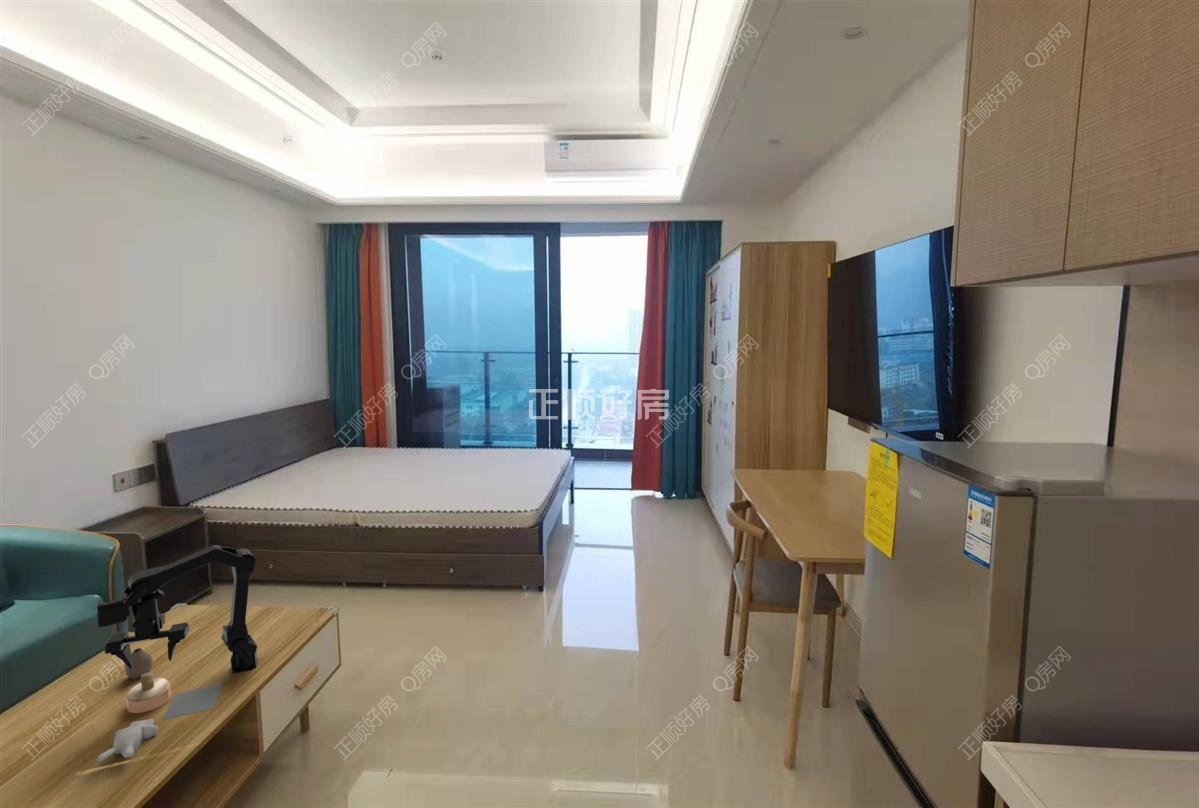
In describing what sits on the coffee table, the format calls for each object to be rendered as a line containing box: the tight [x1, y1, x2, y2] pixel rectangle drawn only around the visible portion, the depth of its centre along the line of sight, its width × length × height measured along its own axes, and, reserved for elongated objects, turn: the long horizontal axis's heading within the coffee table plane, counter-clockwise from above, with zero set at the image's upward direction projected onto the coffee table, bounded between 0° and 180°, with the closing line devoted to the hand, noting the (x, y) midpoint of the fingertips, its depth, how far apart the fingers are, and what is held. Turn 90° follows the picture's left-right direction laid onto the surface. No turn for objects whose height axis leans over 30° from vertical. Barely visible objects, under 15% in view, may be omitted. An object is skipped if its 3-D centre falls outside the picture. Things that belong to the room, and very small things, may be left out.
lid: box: [127, 671, 168, 701], centre depth 162 cm, size 9×9×5 cm
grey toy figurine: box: [95, 718, 159, 763], centre depth 146 cm, size 10×5×15 cm
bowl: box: [125, 679, 173, 714], centre depth 163 cm, size 10×10×4 cm
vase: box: [124, 647, 154, 680], centre depth 175 cm, size 7×7×9 cm
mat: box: [162, 683, 223, 721], centre depth 163 cm, size 12×12×1 cm
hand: (151, 664), depth 163 cm, fingers open, 9 cm apart
